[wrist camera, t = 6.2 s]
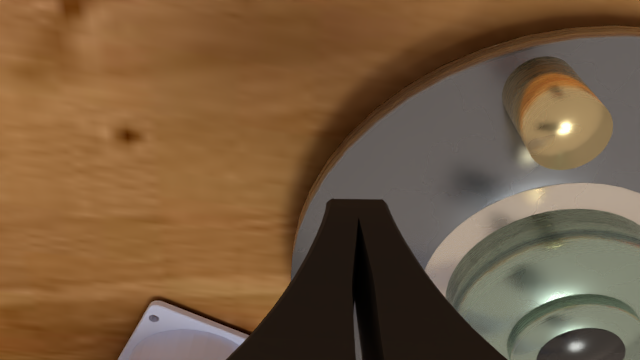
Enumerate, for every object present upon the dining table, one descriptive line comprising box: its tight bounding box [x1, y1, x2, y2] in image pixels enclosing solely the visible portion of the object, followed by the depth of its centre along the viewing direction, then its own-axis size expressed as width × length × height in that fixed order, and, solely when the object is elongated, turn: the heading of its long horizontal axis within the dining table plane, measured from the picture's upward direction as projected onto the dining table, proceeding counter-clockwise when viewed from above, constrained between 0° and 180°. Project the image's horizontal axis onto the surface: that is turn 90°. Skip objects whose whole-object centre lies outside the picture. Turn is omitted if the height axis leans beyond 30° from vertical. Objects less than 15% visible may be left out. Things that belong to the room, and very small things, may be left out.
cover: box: [446, 209, 640, 360], centre depth 23 cm, size 9×9×3 cm
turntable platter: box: [291, 25, 640, 360], centre depth 23 cm, size 22×22×4 cm
